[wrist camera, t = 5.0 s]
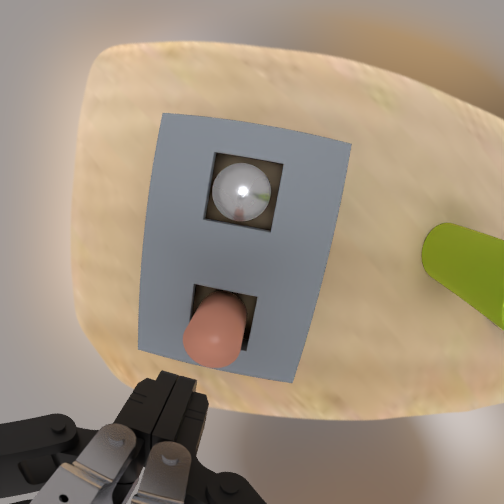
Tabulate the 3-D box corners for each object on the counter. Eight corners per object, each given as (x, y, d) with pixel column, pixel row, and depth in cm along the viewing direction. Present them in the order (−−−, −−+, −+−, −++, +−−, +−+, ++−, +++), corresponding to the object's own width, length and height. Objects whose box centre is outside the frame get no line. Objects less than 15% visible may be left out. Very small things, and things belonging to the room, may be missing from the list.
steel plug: (275, 171, 25) (275, 168, 20) (266, 217, 26) (264, 226, 21) (228, 162, 25) (217, 158, 20) (220, 208, 26) (207, 215, 21)
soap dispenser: (403, 256, 27) (552, 366, 7) (450, 210, 25) (616, 262, 6) (430, 297, 27) (554, 416, 8) (474, 254, 26) (615, 330, 7)
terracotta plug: (251, 296, 24) (245, 324, 19) (242, 339, 25) (235, 373, 20) (202, 286, 24) (185, 312, 20) (196, 329, 25) (180, 360, 20)
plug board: (337, 150, 25) (351, 144, 20) (290, 353, 30) (292, 383, 25) (181, 123, 25) (162, 112, 20) (156, 325, 30) (138, 349, 25)
